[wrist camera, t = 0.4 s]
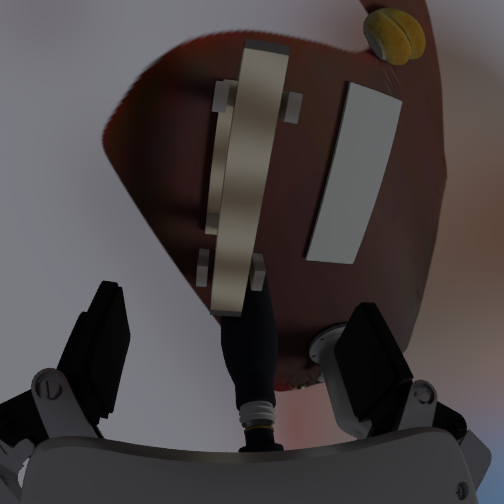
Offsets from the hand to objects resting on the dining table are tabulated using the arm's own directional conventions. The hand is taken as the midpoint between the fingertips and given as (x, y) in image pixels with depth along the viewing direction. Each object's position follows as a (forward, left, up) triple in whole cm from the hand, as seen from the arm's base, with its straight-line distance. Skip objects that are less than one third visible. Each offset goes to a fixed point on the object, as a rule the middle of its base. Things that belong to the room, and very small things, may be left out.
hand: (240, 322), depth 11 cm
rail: (0, -1, -17) cm, 17 cm away
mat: (0, -17, -27) cm, 31 cm away
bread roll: (+22, -18, -27) cm, 39 cm away
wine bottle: (-16, -4, -27) cm, 32 cm away
